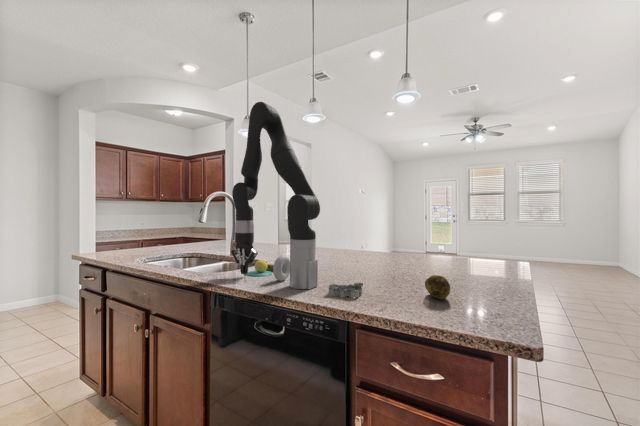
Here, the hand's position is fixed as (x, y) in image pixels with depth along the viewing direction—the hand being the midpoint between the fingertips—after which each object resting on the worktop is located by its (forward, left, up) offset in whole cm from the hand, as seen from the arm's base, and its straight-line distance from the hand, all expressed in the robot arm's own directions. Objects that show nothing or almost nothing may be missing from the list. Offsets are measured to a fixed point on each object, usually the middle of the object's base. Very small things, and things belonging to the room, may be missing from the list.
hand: (244, 273), depth 126 cm
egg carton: (-47, +3, -2) cm, 47 cm away
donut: (-17, -3, -2) cm, 17 cm away
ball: (+1, -12, +1) cm, 12 cm away
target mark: (0, -9, -2) cm, 9 cm away
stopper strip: (0, -18, -2) cm, 18 cm away
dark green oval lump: (-74, -7, -2) cm, 74 cm away
